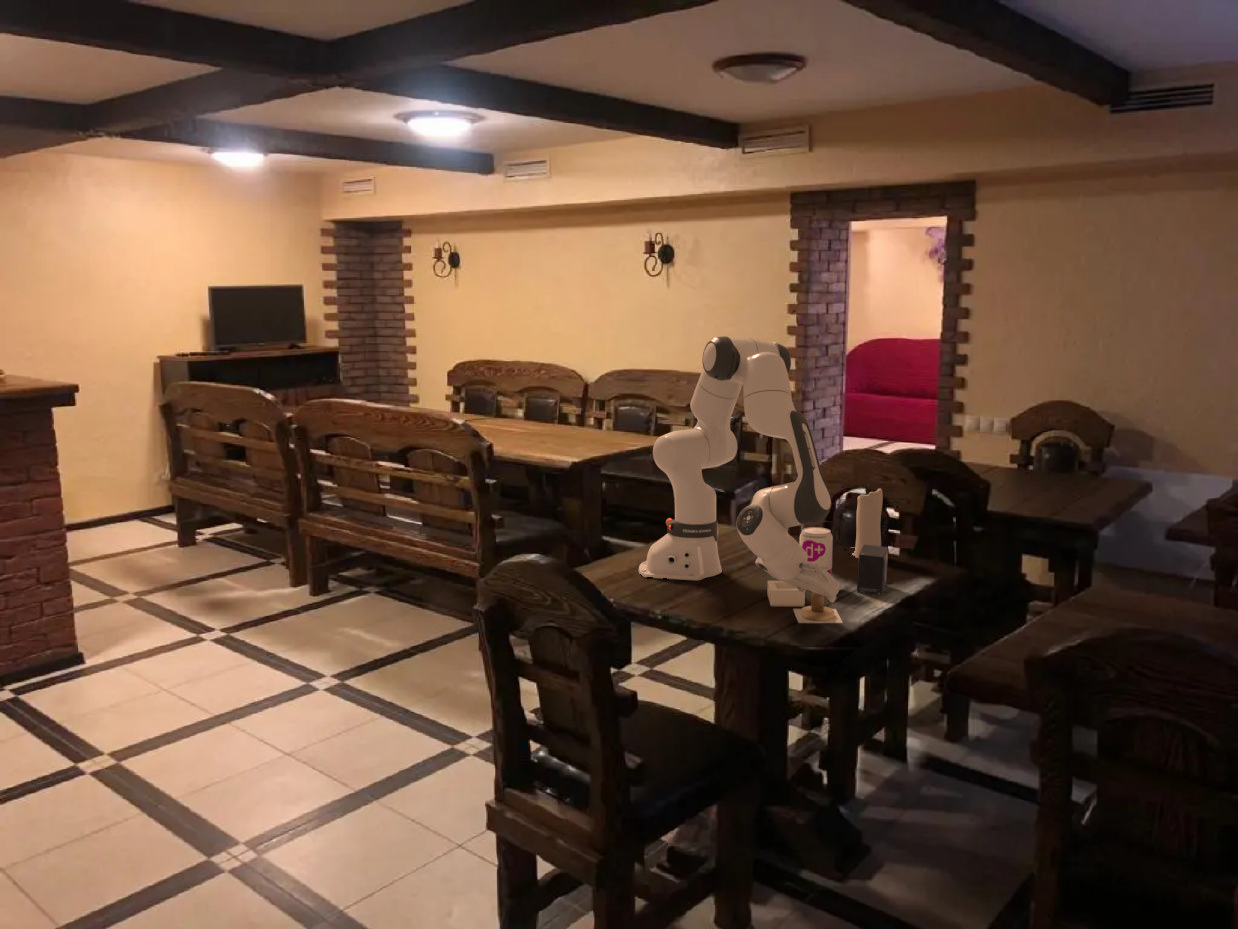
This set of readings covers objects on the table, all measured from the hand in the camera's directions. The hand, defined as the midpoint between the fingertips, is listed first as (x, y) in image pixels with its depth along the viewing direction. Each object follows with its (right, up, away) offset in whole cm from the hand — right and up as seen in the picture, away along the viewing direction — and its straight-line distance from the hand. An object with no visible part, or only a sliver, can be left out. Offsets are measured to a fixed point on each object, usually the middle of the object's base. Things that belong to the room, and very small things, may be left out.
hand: (818, 594), depth 228 cm
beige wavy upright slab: (+24, +4, +56) cm, 61 cm away
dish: (-5, -4, +12) cm, 14 cm away
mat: (0, -6, +1) cm, 6 cm away
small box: (+18, -2, +22) cm, 28 cm away
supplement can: (+4, -2, +24) cm, 25 cm away
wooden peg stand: (0, -5, +1) cm, 5 cm away
